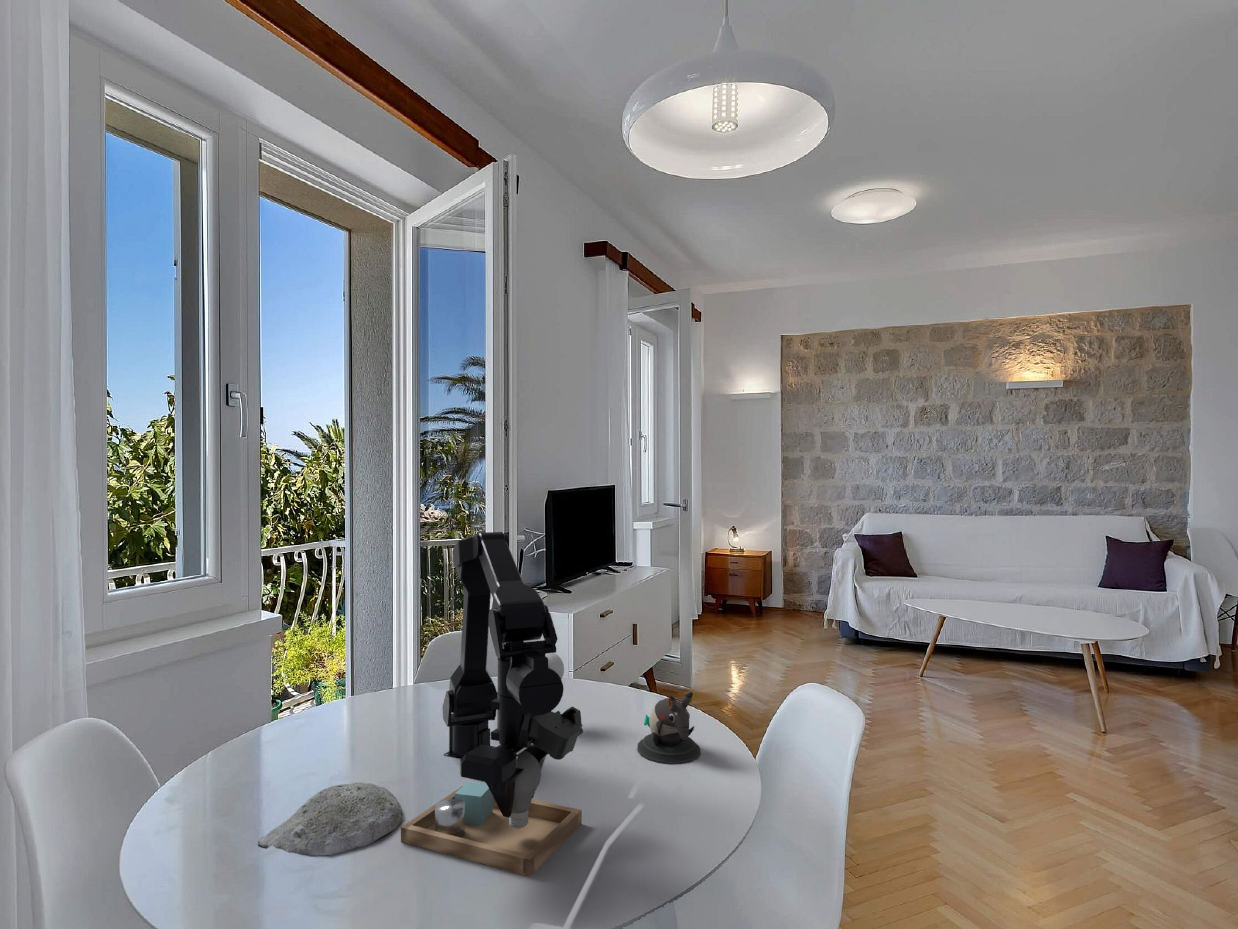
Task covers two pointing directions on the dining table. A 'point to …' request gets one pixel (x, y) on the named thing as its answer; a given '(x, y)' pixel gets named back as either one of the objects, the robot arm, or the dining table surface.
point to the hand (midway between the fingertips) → (518, 807)
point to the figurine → (669, 733)
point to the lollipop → (555, 663)
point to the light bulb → (524, 789)
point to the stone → (337, 820)
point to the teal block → (476, 802)
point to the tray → (499, 836)
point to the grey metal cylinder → (450, 817)
